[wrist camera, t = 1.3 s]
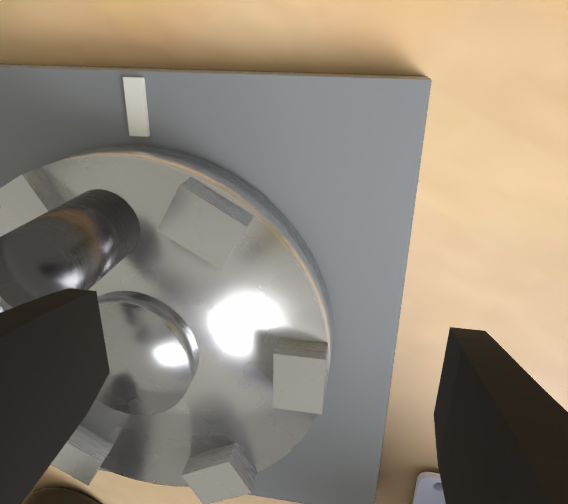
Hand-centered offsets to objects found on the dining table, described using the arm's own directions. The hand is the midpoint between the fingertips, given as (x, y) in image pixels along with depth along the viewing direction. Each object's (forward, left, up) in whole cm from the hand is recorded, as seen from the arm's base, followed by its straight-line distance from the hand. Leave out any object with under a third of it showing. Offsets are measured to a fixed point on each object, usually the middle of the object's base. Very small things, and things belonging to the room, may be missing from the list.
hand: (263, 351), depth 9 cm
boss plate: (+6, +6, -10) cm, 13 cm away
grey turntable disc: (+6, +5, -9) cm, 12 cm away
